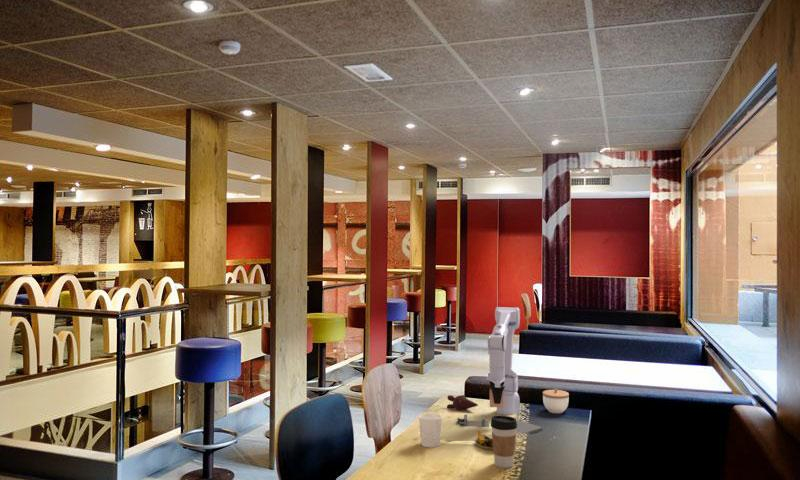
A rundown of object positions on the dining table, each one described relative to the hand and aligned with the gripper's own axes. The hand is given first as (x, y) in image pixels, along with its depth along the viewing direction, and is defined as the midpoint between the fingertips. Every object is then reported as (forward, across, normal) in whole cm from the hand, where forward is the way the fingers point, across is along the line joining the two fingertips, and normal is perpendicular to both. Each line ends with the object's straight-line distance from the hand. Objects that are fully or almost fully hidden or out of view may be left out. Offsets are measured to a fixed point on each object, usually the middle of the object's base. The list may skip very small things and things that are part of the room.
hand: (497, 401), depth 231 cm
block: (+2, 0, 0) cm, 2 cm away
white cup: (+10, +22, -24) cm, 34 cm away
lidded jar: (+10, -25, +25) cm, 37 cm away
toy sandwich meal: (+10, +20, -1) cm, 22 cm away
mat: (+10, +1, +9) cm, 13 cm away
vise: (+10, -1, -9) cm, 13 cm away
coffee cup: (+10, +38, +1) cm, 39 cm away
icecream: (+10, -21, -14) cm, 27 cm away
